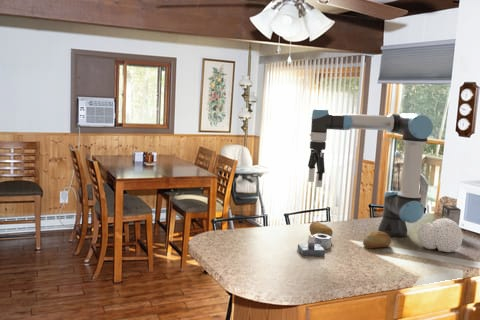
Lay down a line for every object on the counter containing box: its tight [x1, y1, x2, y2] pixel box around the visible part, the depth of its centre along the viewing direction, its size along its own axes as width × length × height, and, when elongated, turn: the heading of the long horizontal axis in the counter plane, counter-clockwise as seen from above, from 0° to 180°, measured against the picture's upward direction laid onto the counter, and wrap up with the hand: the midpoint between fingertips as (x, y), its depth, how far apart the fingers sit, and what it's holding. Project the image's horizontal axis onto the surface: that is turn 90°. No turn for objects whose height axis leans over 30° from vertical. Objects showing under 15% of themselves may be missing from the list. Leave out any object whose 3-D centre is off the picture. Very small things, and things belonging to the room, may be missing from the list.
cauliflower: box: [417, 217, 464, 254], centre depth 229 cm, size 20×18×16 cm
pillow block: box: [297, 234, 326, 258], centre depth 215 cm, size 10×9×8 cm
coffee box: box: [441, 204, 462, 226], centre depth 255 cm, size 9×6×16 cm
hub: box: [314, 234, 332, 250], centre depth 226 cm, size 8×8×5 cm
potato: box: [309, 221, 334, 238], centre depth 237 cm, size 10×14×8 cm
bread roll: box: [362, 230, 392, 249], centre depth 229 cm, size 10×15×8 cm, turn 114°
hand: (314, 184), depth 232 cm, fingers open, 13 cm apart
